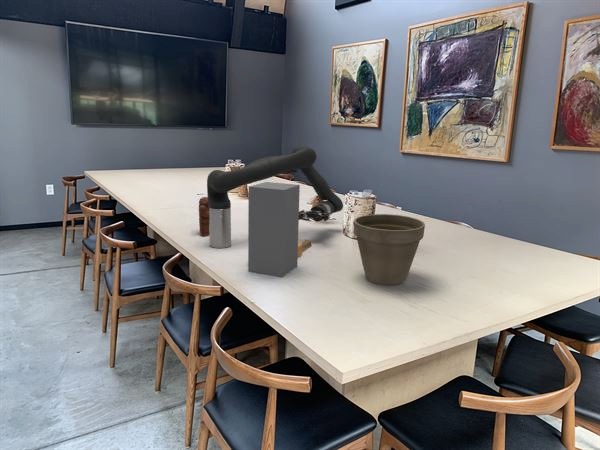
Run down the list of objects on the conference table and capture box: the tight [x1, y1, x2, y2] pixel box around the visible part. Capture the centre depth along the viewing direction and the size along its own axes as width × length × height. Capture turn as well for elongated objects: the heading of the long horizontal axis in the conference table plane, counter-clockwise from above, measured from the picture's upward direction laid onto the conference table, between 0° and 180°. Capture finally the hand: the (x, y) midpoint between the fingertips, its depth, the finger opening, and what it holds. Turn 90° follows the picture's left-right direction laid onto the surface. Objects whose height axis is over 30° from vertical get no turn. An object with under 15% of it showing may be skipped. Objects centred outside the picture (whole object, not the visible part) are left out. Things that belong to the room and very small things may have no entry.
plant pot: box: [353, 213, 426, 286], centre depth 168 cm, size 25×25×22 cm
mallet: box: [298, 239, 313, 259], centre depth 200 cm, size 6×22×5 cm, turn 158°
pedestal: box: [247, 181, 301, 278], centre depth 174 cm, size 14×14×32 cm
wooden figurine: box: [198, 196, 210, 237], centre depth 223 cm, size 12×6×18 cm, turn 16°
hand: (307, 218), depth 204 cm, fingers open, 8 cm apart
